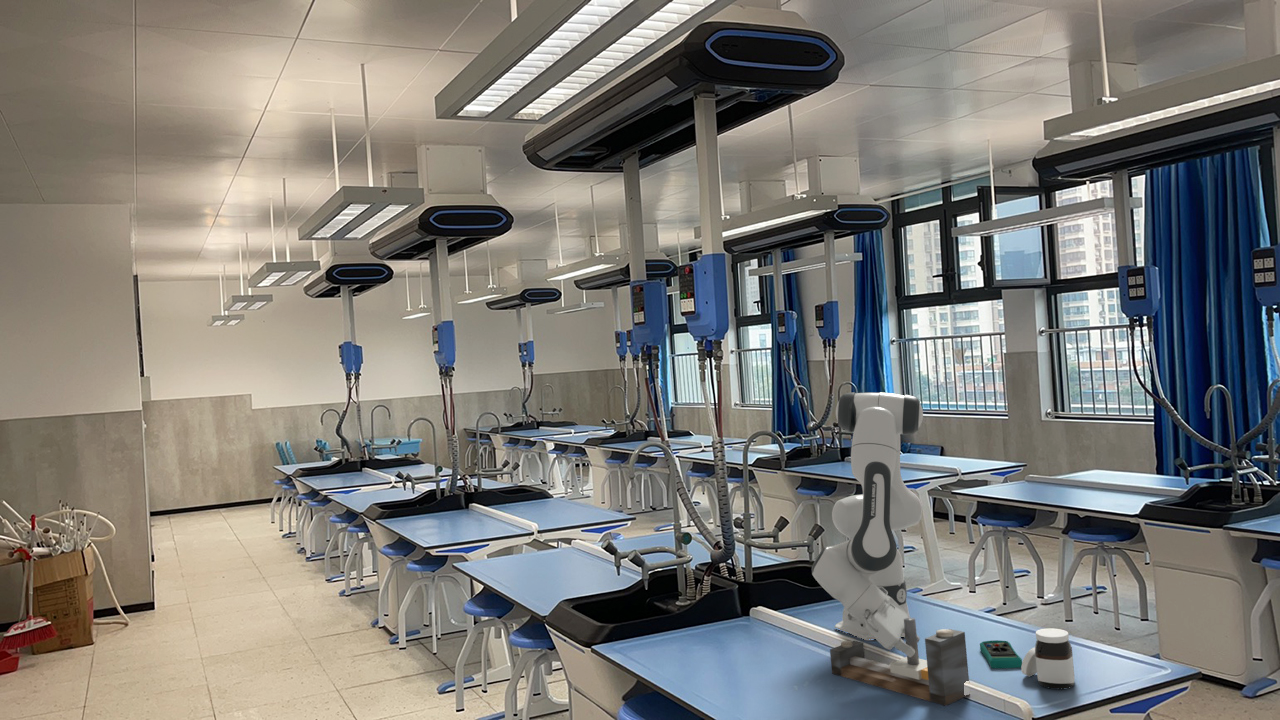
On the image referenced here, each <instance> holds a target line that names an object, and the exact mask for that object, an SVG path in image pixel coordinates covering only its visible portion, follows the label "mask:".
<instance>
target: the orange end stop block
mask: <svg viewBox="0 0 1280 720" xmlns="http://www.w3.org/2000/svg"><path fill="white" fill-rule="evenodd" d="M921 675H922V679H925V680H929V679H928V668H927V667H926V668H924V669H922V670H921Z"/></svg>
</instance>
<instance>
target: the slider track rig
mask: <svg viewBox="0 0 1280 720" xmlns="http://www.w3.org/2000/svg"><path fill="white" fill-rule="evenodd" d="M924 642H925V643H924V645H925V655H926V660H927V668H928V679H929V680H925V679H920V680H918V679H914V678H910V677H907V676H903V675H899V674H895V673H891V672H890V664H888V663H884V662H880V661H876V660H873V659H869V658H868V659H867V658H866V656H865V655H866V654H865V645H864V642H862V641H859V640H852V641H850V640H845V641H843V640H842V641H841V642H840V645H839V646H838V645H837V646H835V647H833V648H829V653H830V654H829V655H830V667H831V674H833V675H836V676H840V677H843V678H847V679H850V680H853V681H856V682H857V681H858V682H861V683H865V684H868V685H870V686H875V687H879V688H882V689H886V690H889V691H891V692H897V693H899V694H903V695H907V696H910V697H914V698H917V699H920V700H924V701H927V702H932V703H935V704H938V705H942V706H945V707H947V706H948V705H950V704H953V703H955V702H957V701H959V700H961V699H963V698H965V695H964V683H965V682H966V681H969V682H970V676H969V667H968V666H969V665H968V654H967V644H966V642H967V641H966V632H965V631H960V630H957V629H952V628H949V629H948V628H947V629H945V628H944V629H943V628H942V629H938V630H936V631H935V634H933V635H930V636H928V637H925V638H924Z"/></svg>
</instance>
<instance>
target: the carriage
mask: <svg viewBox="0 0 1280 720" xmlns="http://www.w3.org/2000/svg"><path fill="white" fill-rule="evenodd" d="M904 629H905V637H904V640H905V643H906V644H907V645H909V646H911V647H912V648H913V649H914V650H915V654H914V655H913V656H912V657H908V656H907V655H906V656H905V657H903V658H900V659H898V660H896V661H893V662H891V663H889V665H890V672H891V673H895V674H899V675H903V676H907V677H910V678H914V679H918V680H920V679H922V675H921V670H922V669H924V668H926V667H927V659H923V658H920V657H919V648H918V647H919V644H918V643H917V636H918V633H917V624H916V618H914V617H910V618H905V619H904Z"/></svg>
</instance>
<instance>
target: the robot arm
mask: <svg viewBox="0 0 1280 720" xmlns="http://www.w3.org/2000/svg"><path fill="white" fill-rule="evenodd" d="M835 418H836V421H837V425H838V426H839V427H840V428H841V429H842V430H843V431H846V432H849V433H853V434H852V435H853V436H852V440H851V450H850V464H851V473H852V475H853V477H854V478H855V480H856V481H858V482H859V483H860V485H861V489H862V494H854V495H849V496H847V497H843V498H841V499H839V500H836V502H835V503H834V505H833V507H832V510H831V519H832V522H833V525H834V527H835V528H836V529H837V531H838V532H839V533H841V534H842V535H844V536H845V537H846V538H848V540H845V541H843V542H841V543H839V544H834V545H831V546H825V547H823V548H822V549H821V550H820V553H818V555H817V557H816V558H815V560H814V562H813V564H812V567H811V575H812V576H813V578H814V579H815V581H817V583H818V584H819V585H820V586H821V587H822V588H823V589H824V590H825V591H826V592H827V593H828V594H829V595H830V596H831V597H832V598H833V599H835V600H837V601H839V603H841V604H842V606H843V610H842V620H841V621H839V622H838V623H836V624H835V626H834V629H835V628H838V629H840V630H842V631H845V632H848V633H850V634H852V635H854V636H853V637H855V636H857V637H856V638H858V639H861V638H862V640H863V639H864V640H863V641H872V640H871V639H876V640H875V641H877V642H878V644H880V645H881V646H882V647H883V648H885V649H886V650H888V651H891V650H892V649H893V648H895V649H896V650H897V651H900V652H902V653H903V654H904V655H906V657H907V656H908V657H912V656H913V655H914V654H915V650H914V649H913V648H912V647H911V646H909V645H907V644H906V641H904V639H903V638H900V637H904V638H905V629H904V619H905V618H911V616H910V612H909V607H908V603H907V594H908V592H907V583H906V580H905V578H904V568H903V557H902V555H901V552H900V551H899V550H898V548H897V543H896V539H895V536H894V534H893V532H894V531H900V530H905V529H908V528H911V527H912V526H913V527H914V526H916V525H918V524H919V523H920V521H921V519H922V517H923V512H924V511H923V509H924V508H923V505H922V502H921V500H920V498H919V496H918V495H917V494H916V493H915V492H913V491H912V490H910V489H909V487H907V486H906V484H905V483H904V481H903V478H902V473H901V435H902V436H909V435H913V434H915V433H917V432H918V431H919V429H920V427H921V425H922V422H923V419H924V410H923V407H922V404H921V400H920V399H918V397H916V396H913V395H910V394H904V395H903V394H900V393H899V394H898V393H891V392H882V391H880V392H858V393H856V392H854V391H853V392H852V391H851V392H846V393H843V394H842V395H841V396H840V397H839V399H838V402H837V404H836V407H835ZM852 635H851V636H852ZM869 639H870V640H869ZM920 639H921V638H920V636H918V635H917V644H918V643H919V641H920Z"/></svg>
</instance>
